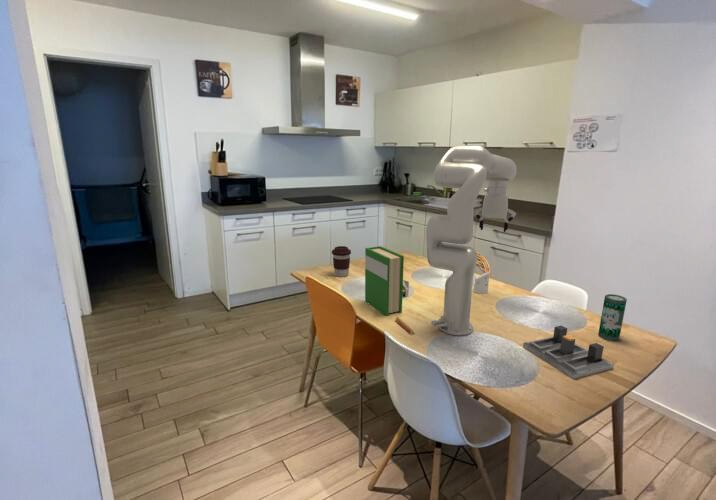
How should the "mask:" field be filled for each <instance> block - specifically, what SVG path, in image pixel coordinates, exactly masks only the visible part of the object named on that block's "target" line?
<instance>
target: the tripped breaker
mask: <svg viewBox="0 0 716 500" xmlns="http://www.w3.org/2000/svg"><path fill="white" fill-rule="evenodd" d="M575 344H576V338H574V337H572V335H571V336H570V335H568V334H567V335H566V336H563V337H562V340H561V347H560V352H561V353H563V354H565V355H567V354H571V353H573V351H574V345H575Z"/></svg>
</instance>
